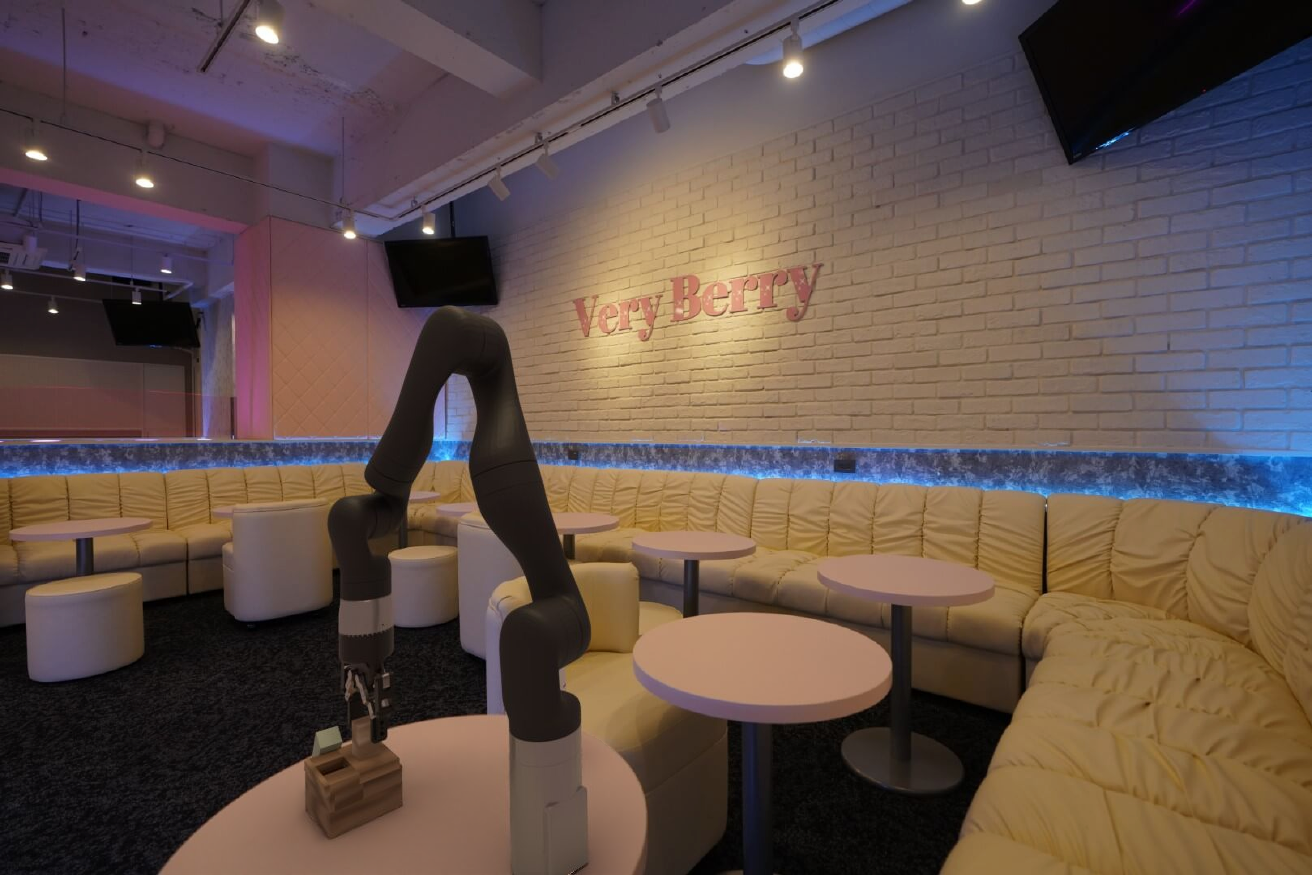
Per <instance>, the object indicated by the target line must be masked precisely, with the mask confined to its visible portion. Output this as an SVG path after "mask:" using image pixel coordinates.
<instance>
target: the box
mask: <svg viewBox="0 0 1312 875" xmlns="http://www.w3.org/2000/svg"><path fill="white" fill-rule="evenodd" d="M344 768H345V767H344V766H343V767H340V768H337V769H334V770H332V771H329V772H326V773H324V774H322V776H325V775H328V774H331V773H333V772H336V771H339V770H341V769H344ZM304 794H305V795H304V796H305V797H304V798H305V800H304V801H305V802H304V804H305V808H304V810H305V812H306V813H307V812H308V813H309V814H308V813H307V814H308V816H310V817H311V819H312V818H313V819H312V820H313V821H314V822H315V824H316V825H317V826H319V828H320V830H321V831H323V833H324V834H325V835H326V836H327V838H329V840H333V839H334V838H336V837H339V836H340V835H343V834H345V833H347V832H349V831H351V830H353V829H355V828H357V827H359V826H361V825H364V824H366V823H368V822H370V821H372V820H375V819H376V818H379V817H381V816H382V815H385V814H387V813H389V812H392V811H393V810H395V809H397V808H400V807H402V806H403V804H404V803H403V764H402V763H400V768H399V769H397V770H394V771H392V772H389V773H387V774H384V775H382V776H379V777H377V778H374V779H372V780H369V781H367V782H364V783H362V784H359V785H357V786H354V787H352V788H349V789H346V790H344V791H341V792H339V793H336V794H334V795H331V796H329V797H326V798H325V797H324V796H323V794H322V793H321V792H320V790H319V789H318V788H317V786H316V785H315V784H314V783H313V781H312V780H311V779H310V777H309V776H308V775H307V773H306V772H305V771H304Z"/></svg>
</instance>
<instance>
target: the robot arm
mask: <svg viewBox="0 0 1312 875" xmlns="http://www.w3.org/2000/svg"><path fill="white" fill-rule="evenodd" d="M414 346H415V347H414V350H413V353H412V354H411V355H412V356H411V358H410V362H409V365H408V368H407V370H406V372H405V376H404V380H403V383H402V386H401V389H400V392H399V394H398V395H399V396H398V398H397V401H396V404H395V408H394V410H393V413H392V414H391V415H392V416H391V418H390V420H389V423H388V424H387V427H386V429H385V430H384V432H383V434H382V436H381V438H380V440H379V442H378V443H377V446H376V447H375V449H374V451H373V453H372V454H371V455H370V456H371V457H370V458H369V459H368V462H367V463H366V466H365V468H364V471H363V476H364V480H365V482H366V484H367V485H368V486H370V488H372V489H373V490H374V491H373V492H372V493H368V494H359V495H357V494H355V495H347V496H344V497H341V498H339V499H337V500H336V501H335V502H333V504H332V506H331V507H330V510H329V513H328V516H327V523H326V526H327V532H328V536H329V538H330V542H331V545H332V548H333V552H334V555H335V558H336V562H337V564H338V568H339V572H340V602H339V604H340V605H339V609H338V610H339V611H338V660H340V663H341V666H340V671H341V672H340V673H341V674H340V692H341V694H343V695H345V696H344V699H345V700H346V701H347V724H348V725H350V726H351V727H352V721H353V720H356V719H359V718H362V717H365V706H367V709H368V713H369V715H370V717H371V718H370V741H371V742H372V743H373V744H376V743H379V742H383V741H385V740H388V733H389V732H388V731H389V730H388V722H389V721H388V717H389V715H392V714H394V713H396V709H397V708H396V680H395V679H396V678H395V672H394V671H393V670H392V671H387V672H386V669H385V667H384V660H385V659H386V658H387V657H390V656H391V655H392V653H393V652H394V649H395V640H394V639H395V634H394V633H395V631H394V629H395V626H394V625H395V624H394V620H395V618H394V617H395V616H394V611H395V610H394V601H393V592H392V590H393V589H392V587H393V586H392V584H393V583H392V579H393V578H392V574H393V573H392V562H391V560H390V558H389V557H388V556H386V555H384V554H373V553H372V551H371V548H370V546H369V543H368V542H369V541H372V540H376V539H382V538H386V537H388V536H390V535H392V534H394V533H395V532H396V531H397V530H398V529H399V528H400V526H401V525H402V523H403V521H404V520H405V517H406V513H407V509H408V506H409V501H410V498H411V491H412V486H413V484H414V482H416V479H417V477H418V476H419V474H420V472H421V470H422V468H423V467H424V465H425V463H426V461H428V460H427V459H428V458H429V455H430V453H431V450H432V447H433V444H434V438H435V437H434V436H435V432H434V431H435V421H434V419H435V416H434V414H435V406H436V402H437V400H438V398H439V394H440V393H441V390H442V389H443V388H444V386H445V385H446V383H447V381H448V380H449V378H450V377H451V376H452V374H455V375H459V376H464V377H465V378H466V379H467V381H468V385H469V387H470V389H471V394H472V396H473V397H472V398H473V400H474V404H475V409H476V425H475V429H474V434H473V437H472V441H471V445H470V451H469V454H468V455H469V456H468V472H469V478H470V482H471V485H472V489H473V492H474V496H475V500H476V503H477V507H478V510H479V513H480V515H481V517H482V519H483V520H484V522H485V523H486V525H487V526H488V527H489V529H490V530H491V531H492V532H493V534H494V535H495V536H496V538H498V539H499V541H501V543H502V544H503V545H504V547H505V548H507V550H509V552H510V553H511V555H513V557H514V558H515V560H516V562H517V563H518V565H519V566H520V568H521V570H522V572H523V575H524V577H525V580H526V583H527V586H528V590H529V594H530V597H531V602H530V603H529V602H528V603H526V604H523V605H522V606H518V607H517V608H514V609H513V610H512V611H510V612H509V613H508V614H507V615H506V616H505V618H504V620H503V622H502V625H501V629H500V632H499V639H498V640H499V642H498V643H499V644H498V651H499V652H498V654H499V670H500V683H501V684H500V686H501V698H502V704H503V708H504V710H505V713H506V716H507V719H508V745H509V746H508V750H509V751H508V752H509V753H508V759H509V761H508V763H509V764H508V765H509V767H508V768H509V769H508V770H509V773H508V774H509V833H510V834H509V835H510V836H509V837H510V838H509V839H510V840H509V841H510V869H511V872H512V873H513V875H568V874H570V873H571V872H573V871H575V870H577V869H578V868H580V867H581V868H583V867H584V866H585V865H587V864H588V863H589V827H588V826H589V825H588V823H589V822H588V818H589V817H588V815H589V814H588V813H589V812H588V788H587V787H586V786H584V785H583V771H582V770H583V765H582V764H583V762H582V761H583V757H582V756H583V754H582V749H583V748H582V705H581V701H580V699H579V698H578V696H576V694H573V693H572V692H569V691H567V690H566V691H563V690H560V679H559V670H560V669H561V668H563V667H565V666H566V667H567V666H569V665H571V664H572V663H574V662H576V661H578V660H579V659H580V658H582V657H583V656H584V655H585V654H586V652H587V651H588V649H589V647H590V644H591V640H592V627H591V626H592V625H591V620H590V617H589V612H588V609H587V606H586V604H585V602H584V598H583V597H582V593H581V591H580V588H579V586H578V584H577V582H576V579H575V577H574V573H573V572H572V569H571V567H570V564H569V561H568V558H567V557H566V554H565V551H564V548H563V545H562V543H561V539H560V535H559V533H558V532H559V531H558V529H557V525H556V522H555V519H554V517H553V514H552V511H551V506H550V504H549V500H548V497H547V496H548V495H547V492H546V487H545V484H544V481H543V477H542V473H541V470H540V467H539V463H538V460H537V456H536V454H535V451H534V448H533V445H532V442H531V437H530V434H529V430H528V427H527V422H526V419H525V416H524V412H523V409H522V405H521V402H520V398H519V393H518V388H517V382H516V375H515V370H514V365H513V364H514V363H513V358H512V352H511V349H510V344H509V340H508V337H507V335H506V333H505V331H504V329H503V327H502V326H501V325H500V324H499V323H498V322H497V321H496V320H494V319H493V318H491V317H490V316H489V317H488V316H486V315H484V314H481V313H477V312H475V311H471V310H469V309H466V308H463V307H460V306H455V305H444V306H441V307H438V308H437V309H435V310H434V311H433V312H432V313H431V314H430V315H429V316H428V318H427V319H426V321H425V322H424V324H423V326H422V329H421V331H420V333H419V336H418V338H417V341H416V344H415V345H414ZM586 863H587V864H586ZM584 864H585V865H584ZM583 865H584V866H583ZM582 866H583V867H582ZM581 868H580V869H581ZM578 870H579V869H578ZM578 870H577V871H578Z"/></svg>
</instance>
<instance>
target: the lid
mask: <svg viewBox="0 0 1312 875" xmlns="http://www.w3.org/2000/svg"><path fill="white" fill-rule="evenodd" d="M370 718H371V717H370V714H369V715H366V716H365V715H364V717H362V718H359V719H356V720H353V721H352V726H351V743H350V744H346V745H344V746H343V745H342V746H341V748H338V749H335V750H332V751H329V752H326V753H323V754H320V755H318V756H315V757H312V756H311V757H309V758H306V759H304V760H303V765H304V768H303V771H304V773H305V772H306V773H307V775H308V776H309V777H310V779H311V780H312V781H313V783H314V784H315V785H316V786H317V788H318V789H319V790H320V792H321V793H322V794H323V796H324V797H325V798H326V797H329V796H331V795H334V794H336V793H339V792H341V791H344V790H346V789H349V788H352V787H354V786H357V785H359V784H362V783H364V782H367V781H369V780H372V779H374V778H377V777H379V776H382V775H384V774H387V773H389V772H392V771H394V770H397V769H399V768H400V764H401V758H400V757H399V755H397V754H396V753H394V751H393V750H391V749H390V747H388V746H387V745H386V744H385V743H384V742H383V741H381V742H379V743H376V744H373V743H372V742H371V741H370ZM343 766H344V767H345V768H344V769H341V770H339V771H336V772H333V773H331V774H328V775H325V776H322V774H324V773H326V772H329V771H332V770H334V769H337V768H340V767H343Z"/></svg>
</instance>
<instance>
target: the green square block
mask: <svg viewBox="0 0 1312 875" xmlns="http://www.w3.org/2000/svg"><path fill="white" fill-rule="evenodd" d="M341 747H343V739H342V736H341V732H340V729H339V726H338V725H336V726H333V727H330V728H326V729H323V730H319V731H316V732H315V736H314V743H313V747H312V753H311V758H312V757H315V756H318V755H320V754H323V753H326V752H329V751H332V750H335V749H338V748H341Z"/></svg>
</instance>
